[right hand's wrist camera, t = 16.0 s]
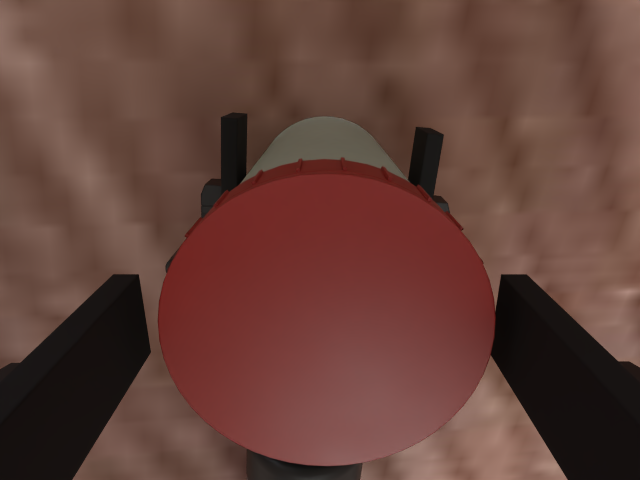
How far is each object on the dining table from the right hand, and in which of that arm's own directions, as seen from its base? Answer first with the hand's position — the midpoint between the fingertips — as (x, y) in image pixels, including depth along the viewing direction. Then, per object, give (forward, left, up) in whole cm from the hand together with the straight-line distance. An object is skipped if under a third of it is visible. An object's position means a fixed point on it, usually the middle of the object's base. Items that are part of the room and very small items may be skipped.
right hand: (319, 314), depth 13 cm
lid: (0, 0, +1) cm, 1 cm away
